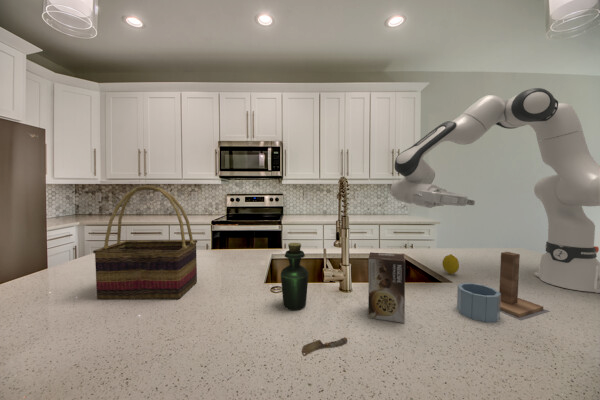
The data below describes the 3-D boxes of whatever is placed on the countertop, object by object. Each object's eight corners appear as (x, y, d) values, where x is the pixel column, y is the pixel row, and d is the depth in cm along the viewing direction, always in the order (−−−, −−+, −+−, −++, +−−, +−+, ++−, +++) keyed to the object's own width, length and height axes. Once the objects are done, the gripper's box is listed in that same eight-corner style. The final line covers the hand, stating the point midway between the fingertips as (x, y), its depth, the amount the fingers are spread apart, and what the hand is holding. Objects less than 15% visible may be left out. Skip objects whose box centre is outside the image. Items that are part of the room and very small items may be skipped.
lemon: (461, 277, 95) (461, 256, 95) (445, 276, 97) (445, 255, 96) (455, 272, 101) (455, 252, 100) (440, 271, 102) (440, 252, 102)
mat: (497, 294, 81) (497, 292, 81) (549, 313, 68) (550, 311, 68) (470, 300, 76) (470, 299, 76) (520, 322, 64) (520, 320, 64)
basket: (92, 300, 76) (87, 185, 74) (126, 282, 90) (122, 185, 89) (180, 300, 76) (177, 185, 74) (199, 282, 91) (197, 185, 89)
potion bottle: (292, 296, 79) (291, 239, 78) (314, 303, 74) (314, 243, 73) (274, 306, 72) (274, 244, 71) (297, 315, 67) (297, 249, 66)
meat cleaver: (294, 344, 56) (296, 360, 51) (293, 339, 56) (296, 355, 51) (345, 338, 57) (352, 354, 52) (345, 333, 57) (352, 348, 52)
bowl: (471, 304, 73) (472, 281, 73) (507, 320, 65) (509, 293, 64) (449, 309, 70) (450, 285, 70) (484, 327, 61) (485, 299, 61)
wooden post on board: (499, 294, 79) (501, 247, 78) (543, 310, 69) (546, 256, 68) (475, 299, 75) (477, 250, 74) (518, 317, 65) (521, 260, 64)
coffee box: (403, 312, 69) (404, 254, 68) (404, 324, 63) (406, 260, 62) (369, 306, 72) (369, 251, 71) (367, 317, 66) (368, 257, 65)
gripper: (411, 184, 90) (449, 189, 78) (445, 189, 100) (484, 195, 87) (408, 202, 90) (445, 209, 78) (442, 205, 100) (480, 212, 88)
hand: (466, 202), depth 83 cm, fingers open, 8 cm apart
